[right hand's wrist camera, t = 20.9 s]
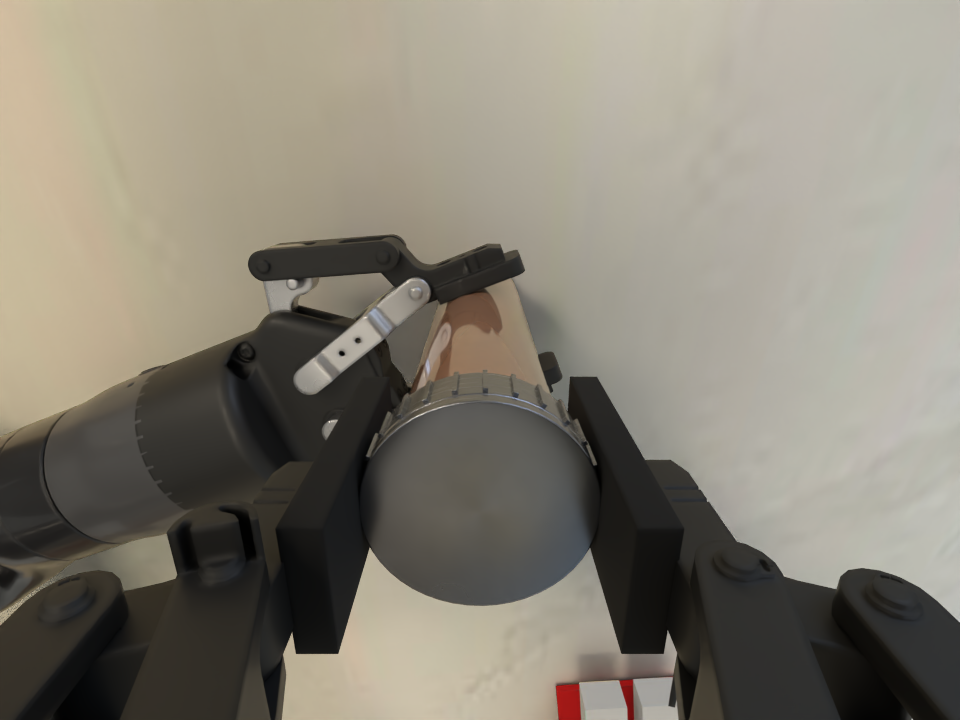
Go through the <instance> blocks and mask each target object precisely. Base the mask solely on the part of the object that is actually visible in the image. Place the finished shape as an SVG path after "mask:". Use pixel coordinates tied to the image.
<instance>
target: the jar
mask: <svg viewBox="0 0 960 720" xmlns="http://www.w3.org/2000/svg"><path fill="white" fill-rule="evenodd" d="M483 370H488V373H495V374H501V375H507V376H511V374H515V375H516V378H517V379H521V380H524V381H526V382H528V383H530V384H533V385H535V386H536V385H537V384H540V385H541V386H542V389H543V391H545V392H547V393H548V394H550V391H549V388H548V384H547V381H546V378H545V375H544V372H543V369H542V366H541V363H540V360H539V357H538V354H537V350H536V347H535V344H534V341H533V338H532V335H531V332H530V329H529V326H528V323H527V320H526V316H525V313H524V310H523V307H522V304H521V301H520V298H519V295H518V292H517V289H516V286H515V284H514V282H513V280H512V279H511V278H510V279H507V280H505V281H502V282H500V283H497V284H494V285H492V286H489V287H486V288H484V289H481V290H479V291H476V292H473V293H471V294H468V295H465V296H462V297H459V298H457V299H455V300H452V301H450V302H447V303H445V304H442V305H440V303H438V306H437V309H436V313H435V316H434V319H433V322H432V325H431V328H430V331H429V334H428V337H427V341H426V344H425V347H424V350H423V353H422V356H421V359H420V362H419V366H418V369H417V372H416V375H415V378H414V381H413V384H412V387H411V391H410V394H409V395H411V394H412V393H414V392H415V391H417V390H418V389H420V388H422V387H424V386H426V383H427V381H429V380H432V382H434V381H437V380H440V379H443V378H446V377H449V376H454V372H459V374H466V373H483ZM550 395H551V394H550Z"/></svg>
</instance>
